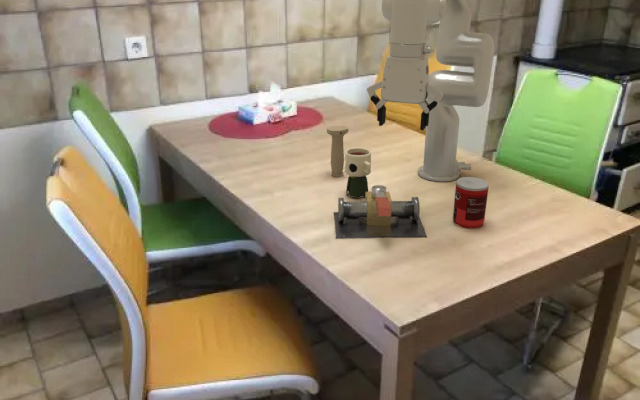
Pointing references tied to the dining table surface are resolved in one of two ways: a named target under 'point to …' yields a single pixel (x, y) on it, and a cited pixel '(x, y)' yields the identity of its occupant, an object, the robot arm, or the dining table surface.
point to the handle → (337, 149)
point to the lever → (381, 200)
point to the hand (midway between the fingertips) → (402, 126)
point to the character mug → (357, 171)
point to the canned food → (470, 202)
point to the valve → (378, 219)
